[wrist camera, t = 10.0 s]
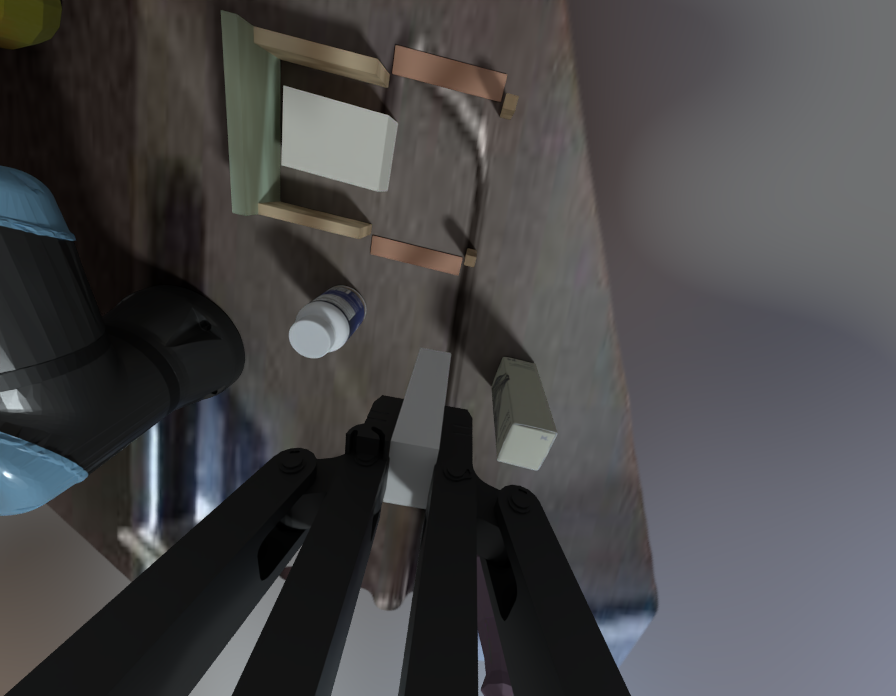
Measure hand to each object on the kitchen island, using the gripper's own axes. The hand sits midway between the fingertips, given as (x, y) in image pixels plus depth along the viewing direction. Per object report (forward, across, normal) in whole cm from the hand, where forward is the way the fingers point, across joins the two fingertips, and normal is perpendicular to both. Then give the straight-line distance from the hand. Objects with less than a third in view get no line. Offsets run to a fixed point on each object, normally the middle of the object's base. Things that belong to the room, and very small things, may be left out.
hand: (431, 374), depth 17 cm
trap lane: (+23, -8, +9) cm, 26 cm away
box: (+23, +10, -12) cm, 28 cm away
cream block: (+23, -12, +10) cm, 28 cm away
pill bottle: (+23, -12, -7) cm, 27 cm away
